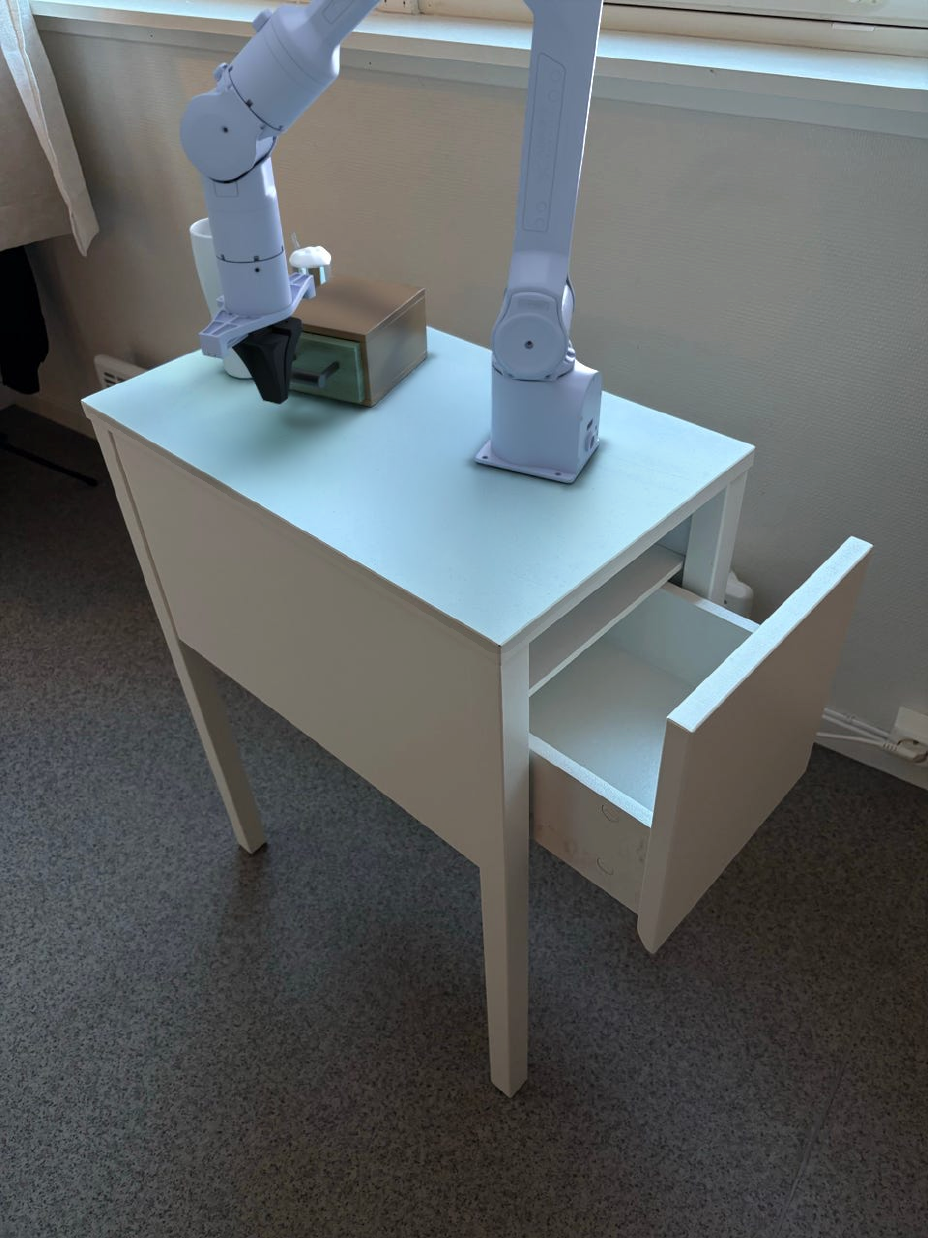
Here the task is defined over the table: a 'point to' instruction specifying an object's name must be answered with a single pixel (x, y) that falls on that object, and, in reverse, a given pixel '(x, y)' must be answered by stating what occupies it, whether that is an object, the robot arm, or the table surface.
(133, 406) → the table surface
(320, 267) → the milkshake
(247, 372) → the drinking glass
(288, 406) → the table surface
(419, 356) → the cabinet
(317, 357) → the drawer
